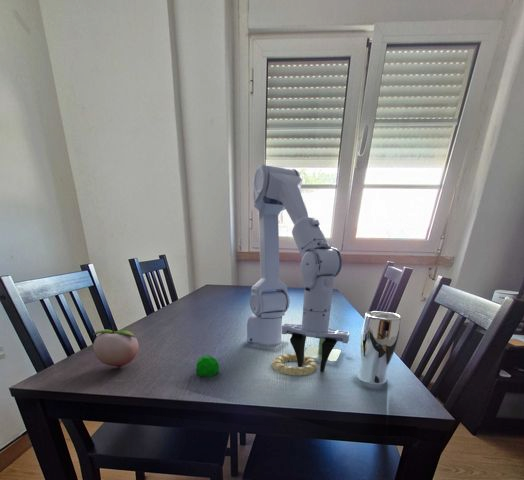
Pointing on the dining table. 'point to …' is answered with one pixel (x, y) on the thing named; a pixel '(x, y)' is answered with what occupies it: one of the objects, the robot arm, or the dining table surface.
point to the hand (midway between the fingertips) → (311, 367)
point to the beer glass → (378, 345)
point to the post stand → (317, 352)
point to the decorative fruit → (115, 347)
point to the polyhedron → (207, 366)
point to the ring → (289, 370)
